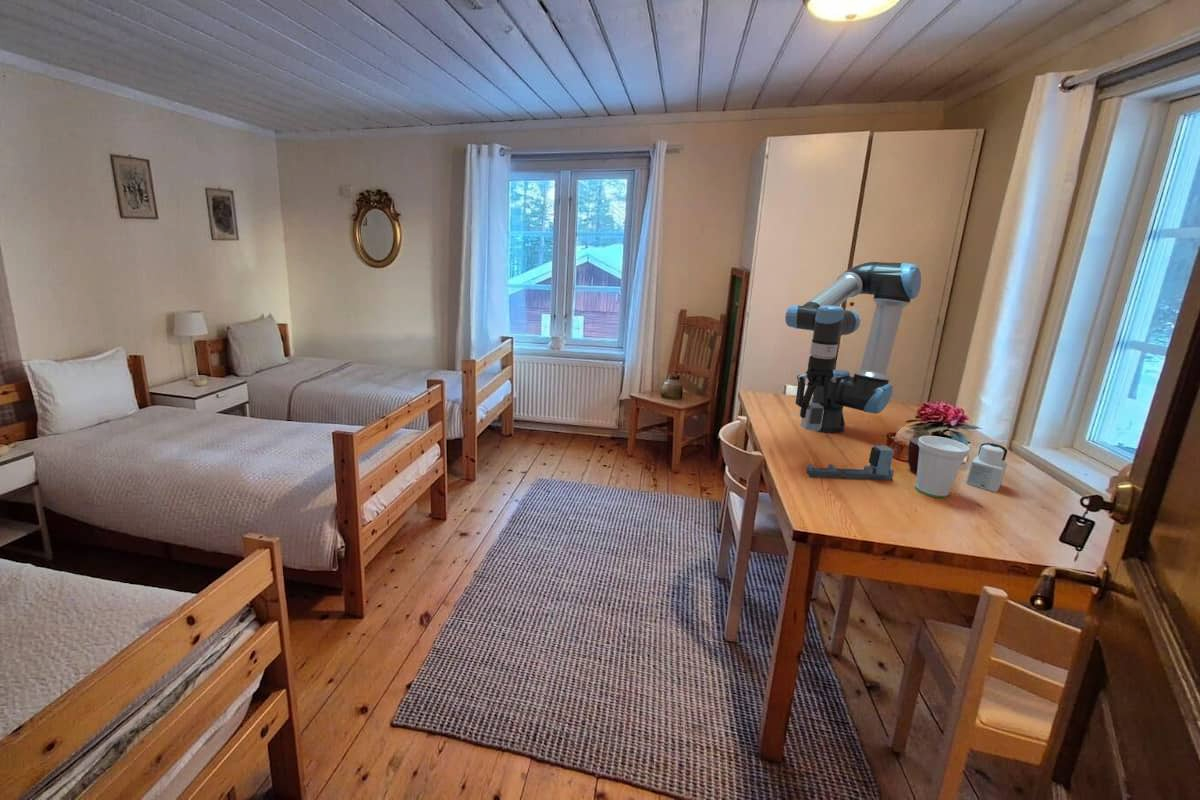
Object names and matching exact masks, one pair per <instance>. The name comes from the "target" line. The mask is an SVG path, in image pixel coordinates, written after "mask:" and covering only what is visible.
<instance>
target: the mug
mask: <svg viewBox="0 0 1200 800" xmlns="http://www.w3.org/2000/svg"><path fill="white" fill-rule="evenodd" d="M919 438H920V437H913V438H911V439H910V440H909V443H908V449H907V463H908V466H909V469H910V471H911V472H912V473H915V474H917V468H918V458H919V446H918V440H919Z"/></svg>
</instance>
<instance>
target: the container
mask: <svg viewBox="0 0 1200 800" xmlns="http://www.w3.org/2000/svg"><path fill="white" fill-rule="evenodd" d="M1007 453H1008V449H1007V448H1006V447H1004V446H1003V445H1000V444H997V443H991V442H986V443H982V444H980V447H979V450H978V453H977V455H976V456H975V457H974V458H973V460H972V461H971V465H970V467H969V468H970V469H969V471H968V475H967V480H966V484H967V485H970V486H973V487H977V488H980V489H984V490H986V491H990V492H994V493H997V492H998V491H999V489H1000V487H1002V484H1003V480H1004V476H1005V473H1006V470H1007V466H1008V462H1007V461H1005V460H1006V457H1007Z"/></svg>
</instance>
